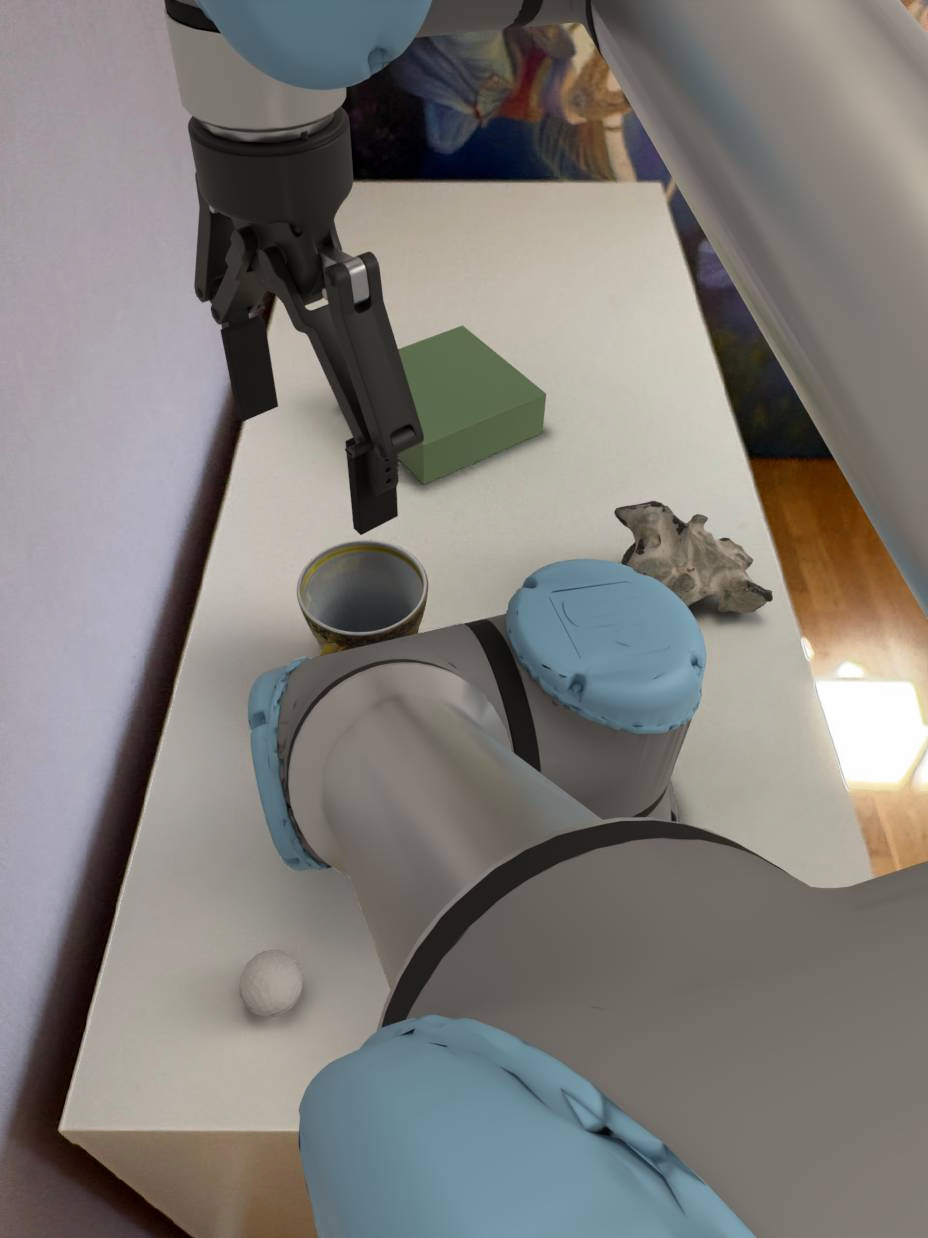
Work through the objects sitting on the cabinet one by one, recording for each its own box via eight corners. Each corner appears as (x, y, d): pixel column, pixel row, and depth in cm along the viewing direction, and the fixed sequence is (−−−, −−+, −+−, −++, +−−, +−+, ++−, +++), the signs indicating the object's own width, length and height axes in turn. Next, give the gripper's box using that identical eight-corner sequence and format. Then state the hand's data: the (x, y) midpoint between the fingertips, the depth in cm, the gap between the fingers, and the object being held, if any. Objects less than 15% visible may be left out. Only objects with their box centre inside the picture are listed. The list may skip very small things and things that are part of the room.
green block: (542, 432, 101) (546, 393, 98) (423, 485, 96) (423, 445, 92) (461, 363, 109) (462, 324, 106) (347, 408, 104) (344, 368, 100)
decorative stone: (779, 625, 80) (688, 673, 87) (779, 553, 86) (695, 604, 93) (645, 511, 75) (559, 572, 82) (655, 444, 81) (575, 505, 88)
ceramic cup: (340, 608, 85) (330, 526, 77) (446, 638, 83) (446, 557, 75) (272, 722, 77) (254, 643, 69) (388, 759, 75) (382, 681, 67)
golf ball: (233, 1013, 62) (222, 991, 59) (261, 956, 64) (252, 931, 61) (289, 1035, 61) (281, 1013, 58) (316, 975, 63) (309, 952, 60)
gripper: (502, 185, 40) (484, 548, 56) (207, 17, 53) (262, 353, 69) (352, 238, 37) (379, 607, 53) (77, 46, 49) (166, 391, 65)
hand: (313, 464), depth 61 cm, fingers open, 13 cm apart
